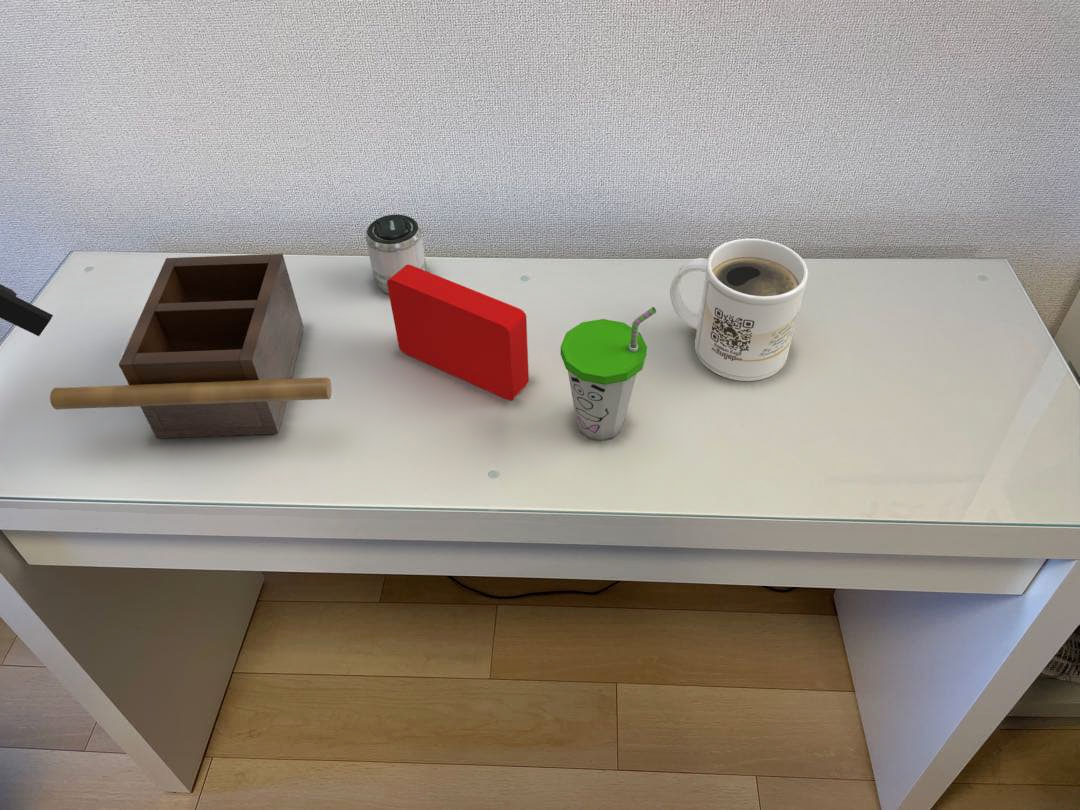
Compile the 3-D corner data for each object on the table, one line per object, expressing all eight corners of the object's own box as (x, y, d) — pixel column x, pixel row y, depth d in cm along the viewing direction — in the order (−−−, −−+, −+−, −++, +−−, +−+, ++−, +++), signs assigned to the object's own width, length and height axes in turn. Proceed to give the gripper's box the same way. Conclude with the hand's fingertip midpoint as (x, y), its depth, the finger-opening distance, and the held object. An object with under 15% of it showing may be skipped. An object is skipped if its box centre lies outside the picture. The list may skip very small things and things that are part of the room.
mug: (720, 395, 87) (736, 311, 79) (661, 325, 95) (670, 242, 87) (805, 364, 90) (829, 281, 82) (742, 299, 98) (757, 217, 90)
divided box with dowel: (137, 333, 95) (102, 259, 88) (362, 324, 95) (345, 251, 88) (83, 456, 83) (37, 383, 75) (341, 446, 83) (320, 372, 76)
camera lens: (423, 261, 104) (415, 205, 98) (432, 292, 99) (424, 236, 94) (371, 269, 103) (360, 214, 97) (378, 301, 98) (367, 245, 93)
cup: (545, 432, 84) (543, 315, 73) (587, 385, 88) (591, 268, 78) (613, 466, 81) (621, 349, 70) (653, 415, 85) (667, 298, 74)
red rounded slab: (529, 385, 89) (526, 310, 81) (513, 402, 87) (509, 328, 80) (416, 335, 94) (404, 262, 87) (399, 351, 93) (386, 277, 85)
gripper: (-194, 186, 76) (51, 309, 87) (-393, 386, 58) (-57, 508, 70) (-170, 129, 72) (82, 265, 83) (-377, 325, 55) (-24, 463, 66)
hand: (19, 376), depth 76 cm, fingers open, 13 cm apart
